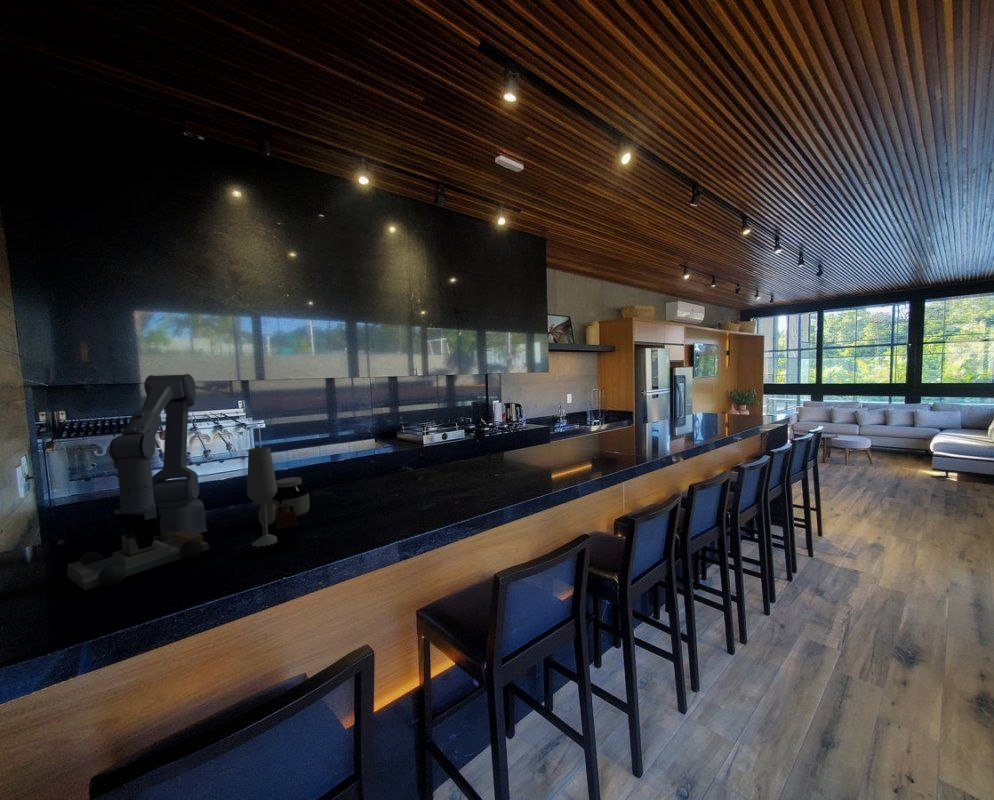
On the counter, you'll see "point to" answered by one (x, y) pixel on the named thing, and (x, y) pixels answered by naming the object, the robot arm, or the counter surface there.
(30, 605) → the counter surface
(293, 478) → the spread jar
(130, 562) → the car chassis
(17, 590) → the counter surface
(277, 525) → the battery
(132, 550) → the engine block
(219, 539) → the counter surface
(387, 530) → the counter surface
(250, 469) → the champagne flute
